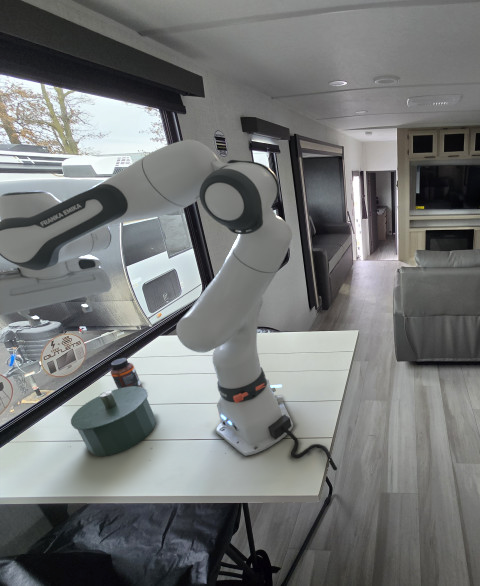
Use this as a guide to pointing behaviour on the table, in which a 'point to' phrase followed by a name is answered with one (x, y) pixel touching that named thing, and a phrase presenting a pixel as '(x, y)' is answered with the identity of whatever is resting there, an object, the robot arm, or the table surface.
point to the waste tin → (120, 432)
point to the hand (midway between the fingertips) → (63, 317)
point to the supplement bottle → (124, 374)
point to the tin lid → (109, 408)
